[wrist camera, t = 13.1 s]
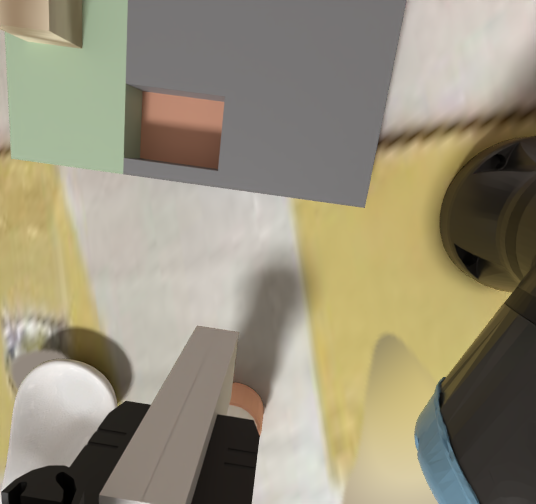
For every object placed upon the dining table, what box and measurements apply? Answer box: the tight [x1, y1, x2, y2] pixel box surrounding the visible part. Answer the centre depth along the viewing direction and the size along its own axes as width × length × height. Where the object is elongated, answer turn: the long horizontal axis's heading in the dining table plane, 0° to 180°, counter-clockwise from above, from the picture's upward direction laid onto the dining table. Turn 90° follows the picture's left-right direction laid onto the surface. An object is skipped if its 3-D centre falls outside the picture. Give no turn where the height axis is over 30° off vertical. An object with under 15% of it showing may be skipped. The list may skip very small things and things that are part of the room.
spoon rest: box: [0, 359, 117, 504], centre depth 43 cm, size 24×12×7 cm, turn 152°
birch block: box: [0, 0, 82, 49], centre depth 29 cm, size 5×5×4 cm
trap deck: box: [5, 0, 406, 208], centre depth 32 cm, size 34×26×4 cm
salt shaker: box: [226, 383, 264, 435], centre depth 35 cm, size 7×7×19 cm
